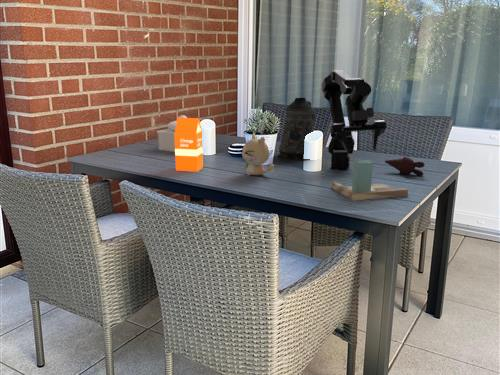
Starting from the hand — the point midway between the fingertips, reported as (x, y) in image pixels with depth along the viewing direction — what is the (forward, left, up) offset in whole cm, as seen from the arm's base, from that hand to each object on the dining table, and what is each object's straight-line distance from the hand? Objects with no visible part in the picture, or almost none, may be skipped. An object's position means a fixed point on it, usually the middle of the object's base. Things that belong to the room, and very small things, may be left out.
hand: (361, 151), depth 171 cm
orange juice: (-66, -1, -12) cm, 67 cm away
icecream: (+13, +22, -12) cm, 28 cm away
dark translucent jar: (-33, +39, -12) cm, 53 cm away
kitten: (-39, 0, -12) cm, 41 cm away
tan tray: (+4, -9, -12) cm, 16 cm away
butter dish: (-87, +34, -12) cm, 94 cm away
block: (+2, -9, -11) cm, 15 cm away
